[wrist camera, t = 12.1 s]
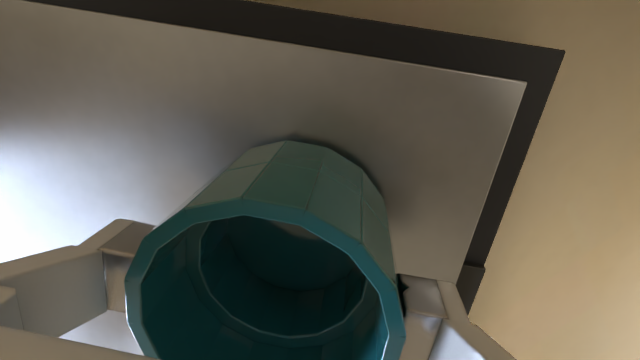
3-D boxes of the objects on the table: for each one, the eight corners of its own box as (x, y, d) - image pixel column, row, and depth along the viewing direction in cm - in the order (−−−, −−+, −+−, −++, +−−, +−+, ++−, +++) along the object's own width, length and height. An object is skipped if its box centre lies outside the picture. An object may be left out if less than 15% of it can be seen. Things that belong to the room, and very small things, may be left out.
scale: (527, 49, 13) (578, 50, 10) (381, 476, 22) (384, 543, 19) (-111, -51, 14) (-240, -77, 11) (3, 391, 23) (-51, 442, 20)
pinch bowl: (408, 156, 11) (439, 233, 7) (368, 312, 14) (371, 450, 9) (214, 122, 12) (115, 173, 7) (208, 280, 14) (131, 398, 9)
